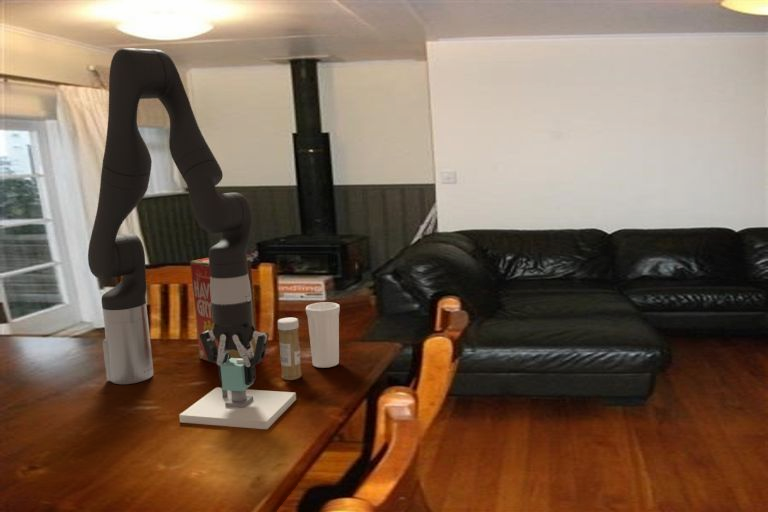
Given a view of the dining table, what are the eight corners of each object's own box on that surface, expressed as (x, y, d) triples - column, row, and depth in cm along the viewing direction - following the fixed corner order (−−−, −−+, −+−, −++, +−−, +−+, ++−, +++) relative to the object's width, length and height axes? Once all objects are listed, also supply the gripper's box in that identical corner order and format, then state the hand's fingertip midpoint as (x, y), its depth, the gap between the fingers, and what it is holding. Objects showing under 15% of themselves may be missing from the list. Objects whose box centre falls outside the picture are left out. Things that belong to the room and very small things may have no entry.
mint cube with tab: (222, 390, 120) (220, 362, 119) (233, 381, 124) (231, 354, 123) (243, 391, 119) (241, 363, 118) (253, 383, 123) (251, 356, 122)
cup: (330, 372, 142) (327, 312, 139) (301, 367, 146) (298, 308, 143) (349, 361, 149) (346, 303, 146) (321, 357, 153) (318, 300, 150)
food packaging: (197, 358, 155) (188, 260, 151) (228, 348, 162) (220, 254, 158) (228, 369, 147) (220, 265, 143) (260, 358, 154) (253, 258, 150)
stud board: (179, 422, 118) (177, 398, 117) (216, 394, 131) (215, 373, 131) (267, 429, 114) (265, 405, 113) (296, 399, 127) (294, 377, 126)
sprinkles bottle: (305, 377, 139) (301, 319, 137) (286, 382, 137) (282, 323, 135) (296, 372, 143) (292, 315, 141) (278, 376, 141) (274, 319, 138)
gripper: (187, 301, 117) (195, 388, 120) (256, 303, 113) (263, 392, 116) (207, 292, 124) (214, 374, 127) (273, 294, 121) (279, 378, 123)
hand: (238, 382), depth 122 cm, fingers closed on mint cube with tab, 4 cm apart
